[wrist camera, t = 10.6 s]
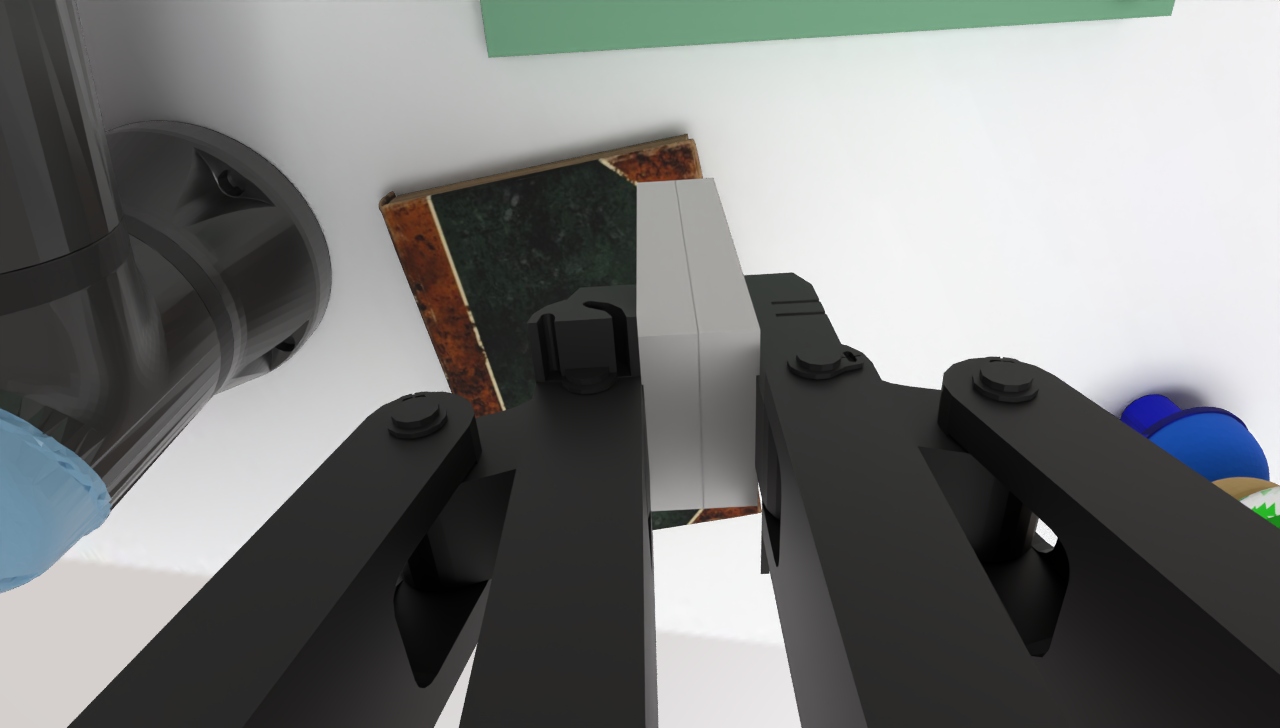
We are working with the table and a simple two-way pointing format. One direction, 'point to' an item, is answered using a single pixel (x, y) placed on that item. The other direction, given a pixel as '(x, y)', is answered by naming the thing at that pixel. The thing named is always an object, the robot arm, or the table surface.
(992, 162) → the table surface
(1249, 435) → the toy
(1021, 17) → the green
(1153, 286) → the table surface
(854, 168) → the table surface
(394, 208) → the book
